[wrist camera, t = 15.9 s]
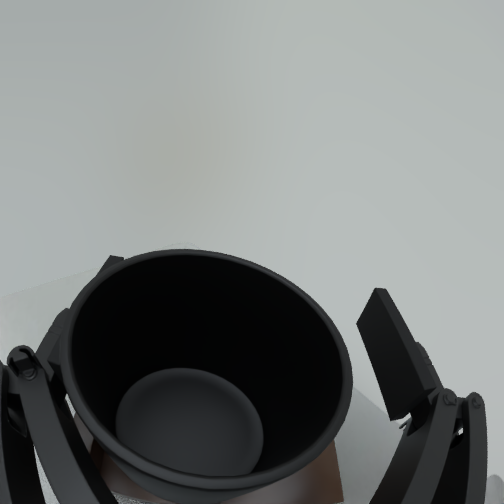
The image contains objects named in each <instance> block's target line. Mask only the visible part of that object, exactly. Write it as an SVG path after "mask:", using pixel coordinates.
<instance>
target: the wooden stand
mask: <svg viewBox="0 0 504 504" xmlns="http://www.w3.org/2000/svg"><path fill="white" fill-rule="evenodd" d="M73 419H74V421H75V424H76V426H77V428H78V431H79V433H80V435H81V437H82V439H83V442H84V444H85V446H86V448H87V450H88V452H89V454H90V456H91V458H92V460H93V462H94V464H95V465H96V467H97V469H98V471H99V473H100V474H101V476H102V478H103V480H104V481H105V483H106V485H107V486H108V488H109V489H110V491H111V493H112V494H115V495H118V496H122V497H125V498H129V499H132V500H136V501H140V502H145V503H149V504H181V503H175V502H171V501H168V500H165V499H162V498H160V497H157V496H155V495H153V494H151V493H150V492H148V491H146V490H144V489H143V488H141V487H140V486H139V485H137V484H136V483H135V482H134V481H132V480H131V479H130V478H129V477H128V476H127V475H126V474H125V473H124V472H123V471H122V470H121V469H120V467H119V466H118V465H117V464H116V463H115V462H114V461H113V460H112V459H111V458H110V457H109V455H108V454H107V453H106V452H105V451H104V450H103V448H102V447H101V446H100V445H99V444H98V442H97V441H96V440H95V439H94V437H93V436H92V435H91V433H90V432H89V431H88V429H87V428H86V427H85V425H84V424H83V422H82V421H81V419H80V418H79V416H78V415H77V413H76V412H75V415H74V418H73ZM343 501H344V498H343V491H342V485H341V478H340V472H339V466H338V460H337V455H336V449H335V443H334V439H333V441H332V442H331V443H330V444H329V446H328V447H327V448H326V449H325V450H324V451H323V452H322V453H321V454H320V456H319V457H317V458H316V459H315V460H314V461H312V462H311V463H310V464H308V465H307V466H305V467H304V468H303V469H301V470H300V471H298V472H296V473H295V474H293V475H291V476H289V477H287V478H284V479H282V480H280V481H278V482H275V483H273V484H271V485H268V486H266V487H263V488H261V489H258V490H255V491H253V492H250V493H247V494H244V495H242V496H239V497H236V498H232V499H229V500H226V501H223V502H219V503H215V504H336V503H340V502H343Z"/></svg>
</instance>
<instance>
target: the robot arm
mask: <svg viewBox="0 0 504 504" xmlns="http://www.w3.org/2000/svg"><path fill="white" fill-rule="evenodd" d="M122 260H124V258H123V257H118V256H112V255H110V257H109V258H108V259H107V261H106V262H105V263H104V265H103V266H102V268H101V269H100V271H99V272H98V274H100V273H101V272H103V271H104V270H105V269H107V268H109V267H110V266H112V265H114V264H116V263H118V262H120V261H122ZM98 274H97V275H98ZM97 275H96V276H97ZM68 311H69V309H68V308H65V309H64V310H63V311H62V312H60V313H59V314H58V315H57V317H56V318H55V320H54V322H53V323H52V325H51V327H50V328H49V330H48V332H47V333H46V335H45V337H44V339H43V340H42V342H41V344H40V346H39V348H38V349H37V351H36V353H34V351H33V350H32V349H31V348H30V347H28V346H25V345H21V346H17V347H15V348H14V349H13V350H12V351H11V352H10V353H9V355H8V357H7V365H8V366H7V365H3V363H2V362H1V360H0V504H46V503H45V499H44V495H43V492H42V488H41V483H40V479H39V474H38V469H37V464H36V458H35V452H34V446H35V449H36V452H37V455H38V457H39V460H40V462H41V465H42V467H43V470H44V472H45V474H46V477H47V479H48V481H49V483H50V486H51V488H52V490H53V492H54V494H55V496H56V498H57V500H58V502H59V503H60V504H119V503H118V502H117V500H116V499H115V497H114V496H113V494H112V493H111V491H110V489H109V488H108V486H107V485H106V483H105V481H104V480H103V478H102V476H101V474H100V473H99V471H98V469H97V467H96V465H95V464H94V462H93V460H92V458H91V456H90V454H89V452H88V450H87V448H86V446H85V444H84V442H83V439H82V437H81V435H80V433H79V431H78V428H77V426H76V424H75V421H74V419H73V416H72V414H71V411H70V409H69V406H68V403H67V401H66V399H65V397H66V394H67V391H66V389H65V386H64V382H63V378H62V373H61V367H60V338H61V333H62V329H63V325H64V321H65V318H66V316H67V314H68ZM356 325H357V327H358V329H359V332H360V335H361V337H362V340H363V343H364V345H365V348H366V351H367V353H368V356H369V359H370V361H371V364H372V367H373V370H374V372H375V375H376V378H377V381H378V384H379V387H380V390H381V393H382V396H383V399H384V402H385V405H386V408H387V412H388V415H389V418H390V421H393V420H398V419H402V418H404V417H405V416H406V415H407V414H408V413H410V414H411V418H409V419H408V420H407V421H406V422H404V423H403V424H402V425H401V426H400V427H399V429H401V428H403V427H404V426H405V425H406V427H405V429H404V430H403V431H404V432H403V435H402V437H401V440H400V442H399V445H398V447H397V449H396V452H395V454H394V456H393V458H392V461H391V463H390V465H389V467H388V469H387V471H386V473H385V475H384V477H383V479H382V481H381V483H380V485H379V487H378V489H377V490H376V492H375V494H374V496H373V498H372V499H371V501H370V503H369V504H484V501H485V492H486V481H487V426H486V414H485V404H484V401H483V399H482V397H481V396H480V395H479V394H478V393H476V392H472V393H471V394H470V395H468V396H467V397H466V398H460V397H457V396H456V394H455V393H454V392H453V391H452V390H450V389H447V388H445V389H444V388H443V385H442V383H441V381H440V379H439V377H438V375H437V373H436V370H435V368H434V366H433V365H432V362H431V360H430V359H429V356H428V354H427V353H426V351H425V349H424V347H422V346H421V344H420V343H419V342H415V340H414V338H413V336H412V335H411V333H410V331H409V329H408V327H407V325H406V323H405V321H404V320H403V318H402V316H401V314H400V312H399V311H398V309H397V307H396V306H395V303H394V302H393V300H392V298H391V297H390V295H389V293H388V291H387V290H386V289H383V288H375V289H374V291H373V293H372V295H371V297H370V299H369V300H368V303H367V304H366V306H365V308H364V310H363V312H362V314H361V316H360V318H359V319H358V321H357V323H356ZM461 428H463V433H462V434H460V435H459V433H458V431H459V430H460V429H461ZM33 444H34V445H33Z"/></svg>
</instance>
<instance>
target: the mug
mask: <svg viewBox="0 0 504 504" xmlns="http://www.w3.org/2000/svg"><path fill="white" fill-rule="evenodd" d="M60 367H61V373H62V378H63V382H64V386H65V389H66V391H67V394H68V396H69V399H70V401H71V403H72V406H73V408H74V409H75V411H76V413H77V415H78V416H79V418H80V419H81V421H82V422H83V424H84V425H85V427H86V428H87V429H88V431H89V432H90V433H91V435H92V436H93V437H94V439H95V440H96V441H97V442H98V444H99V445H100V446H101V447H102V448H103V450H104V451H105V452H106V453H107V454H108V455H109V457H110V458H111V459H112V460H113V461H114V462H115V463H116V464H117V465H118V466H119V467H120V469H121V470H122V471H123V472H124V473H125V474H126V475H127V476H128V477H129V478H130V479H131V480H132V481H134V482H135V483H136V484H137V485H139V486H140V487H141V488H143V489H144V490H146V491H148V492H150V493H151V494H153V495H155V496H157V497H160V498H162V499H165V500H168V501H171V502H175V503H181V504H215V503H219V502H223V501H226V500H229V499H232V498H236V497H239V496H242V495H244V494H247V493H250V492H253V491H255V490H258V489H261V488H263V487H266V486H268V485H271V484H273V483H275V482H278V481H280V480H282V479H284V478H287V477H289V476H291V475H293V474H295V473H296V472H298V471H300V470H301V469H303V468H304V467H305V466H307V465H308V464H310V463H311V462H312V461H314V460H315V459H316V458H317V457H319V456H320V454H321V453H322V452H323V451H324V450H325V449H326V448H327V447H328V446H329V444H330V443H331V442H332V441H333V439H334V438H335V437H336V435H337V433H338V432H339V430H340V428H341V426H342V424H343V423H344V421H345V418H346V415H347V412H348V409H349V406H350V402H351V397H352V387H353V376H352V366H351V361H350V358H349V354H348V350H347V347H346V345H345V343H344V341H343V338H342V336H341V334H340V332H339V331H338V329H337V327H336V326H335V324H334V323H333V321H332V320H331V318H330V317H329V316H328V315H327V313H326V312H325V311H324V310H323V309H322V308H321V307H320V306H319V304H318V303H317V302H316V301H314V300H313V299H312V298H311V297H310V296H309V295H308V294H307V293H305V292H304V291H303V290H302V289H300V288H299V287H298V286H296V285H295V284H294V283H292V282H291V281H289V280H287V279H286V278H284V277H283V276H281V275H279V274H277V273H275V272H273V271H271V270H270V269H267V268H265V267H263V266H261V265H258V264H256V263H253V262H251V261H248V260H245V259H242V258H238V257H235V256H231V255H227V254H223V253H218V252H212V251H205V250H193V249H171V250H161V251H153V252H149V253H144V254H140V255H137V256H134V257H131V258H128V259H125V260H122V261H120V262H118V263H116V264H114V265H112V266H110V267H109V268H107V269H105V270H104V271H103V272H101V273H100V274H98V275H97V276H96V277H94V278H93V279H92V280H91V281H90V282H89V283H88V284H87V285H86V286H85V287H84V288H83V289H82V290H81V292H80V293H79V294H78V296H77V297H76V299H75V300H74V301H73V303H72V305H71V307H70V309H69V311H68V314H67V316H66V318H65V321H64V325H63V329H62V333H61V338H60Z"/></svg>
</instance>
